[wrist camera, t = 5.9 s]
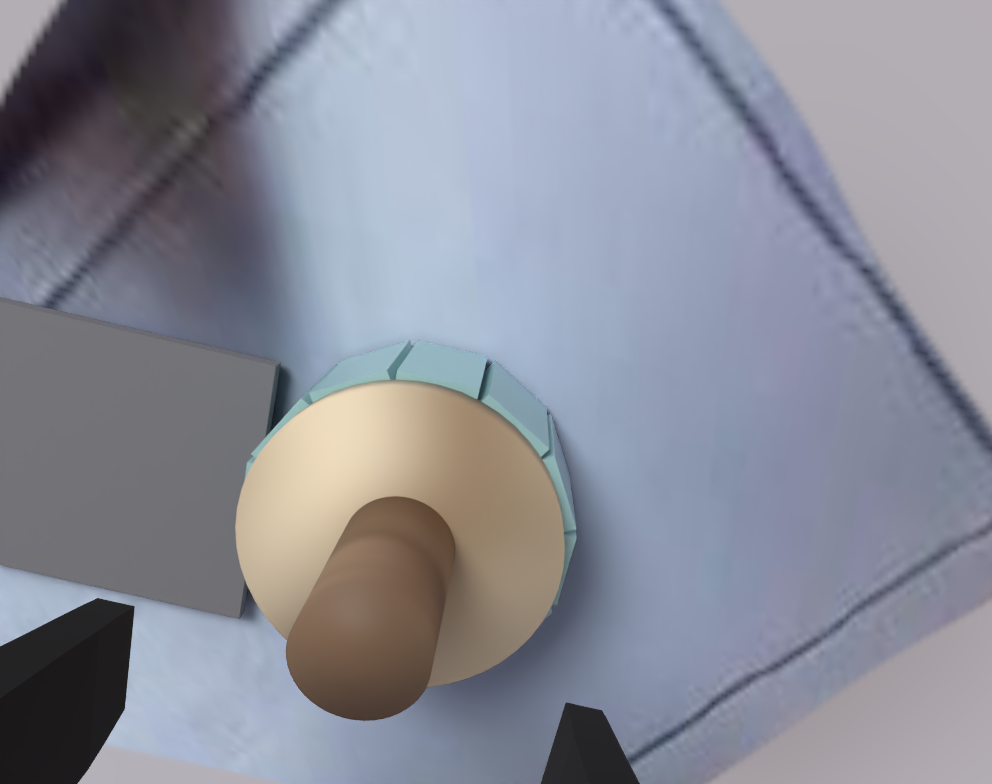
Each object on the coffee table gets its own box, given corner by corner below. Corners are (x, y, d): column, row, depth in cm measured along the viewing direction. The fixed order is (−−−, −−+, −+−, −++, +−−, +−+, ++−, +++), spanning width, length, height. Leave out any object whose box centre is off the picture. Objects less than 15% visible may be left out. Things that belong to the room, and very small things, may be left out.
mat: (-17, 552, 22) (-26, 559, 21) (-10, 294, 19) (-21, 297, 19) (244, 611, 22) (239, 618, 21) (280, 362, 20) (275, 366, 19)
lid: (227, 626, 18) (125, 775, 14) (275, 342, 16) (173, 407, 12) (517, 697, 18) (513, 868, 14) (602, 426, 16) (631, 523, 12)
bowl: (266, 572, 21) (222, 637, 18) (306, 313, 19) (264, 338, 16) (527, 631, 22) (527, 706, 19) (598, 382, 19) (611, 419, 16)
